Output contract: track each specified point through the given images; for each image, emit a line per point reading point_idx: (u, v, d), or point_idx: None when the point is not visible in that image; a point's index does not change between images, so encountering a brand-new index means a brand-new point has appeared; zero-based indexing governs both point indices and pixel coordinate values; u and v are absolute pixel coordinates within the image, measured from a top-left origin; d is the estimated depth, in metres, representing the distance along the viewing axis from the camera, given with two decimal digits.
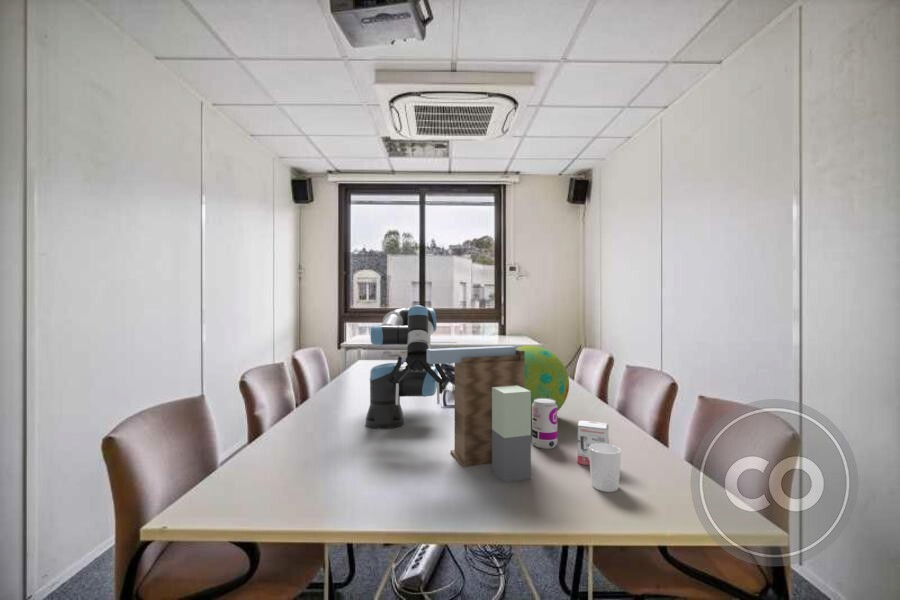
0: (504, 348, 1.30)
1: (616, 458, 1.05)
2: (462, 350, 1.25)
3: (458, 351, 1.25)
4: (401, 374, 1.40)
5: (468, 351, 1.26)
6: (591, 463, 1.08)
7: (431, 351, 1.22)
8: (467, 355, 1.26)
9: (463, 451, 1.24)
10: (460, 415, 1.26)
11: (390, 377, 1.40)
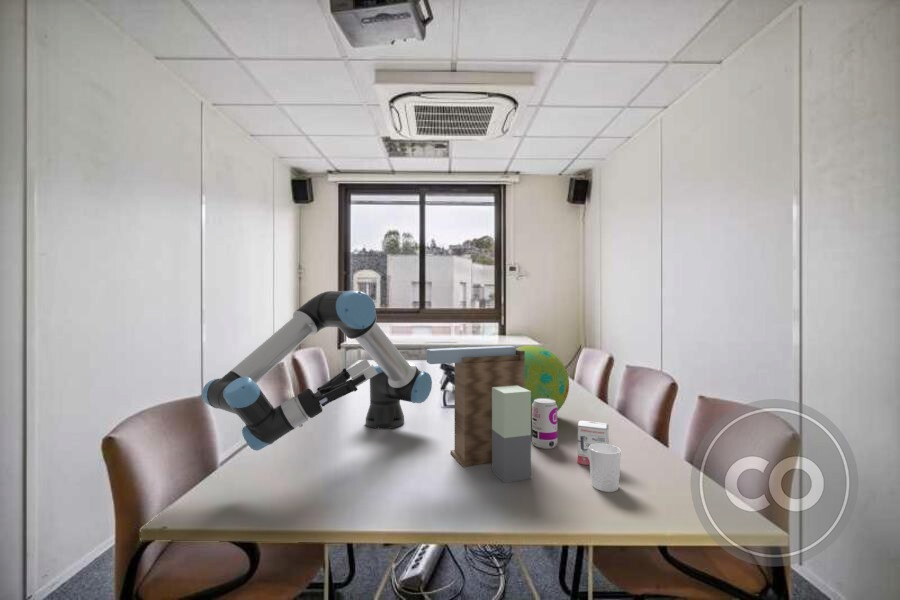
0: (504, 348, 1.30)
1: (616, 458, 1.05)
2: (462, 350, 1.25)
3: (458, 351, 1.25)
4: None
5: (468, 351, 1.26)
6: (591, 463, 1.08)
7: (431, 351, 1.22)
8: (467, 355, 1.26)
9: (463, 451, 1.24)
10: (460, 415, 1.26)
11: None
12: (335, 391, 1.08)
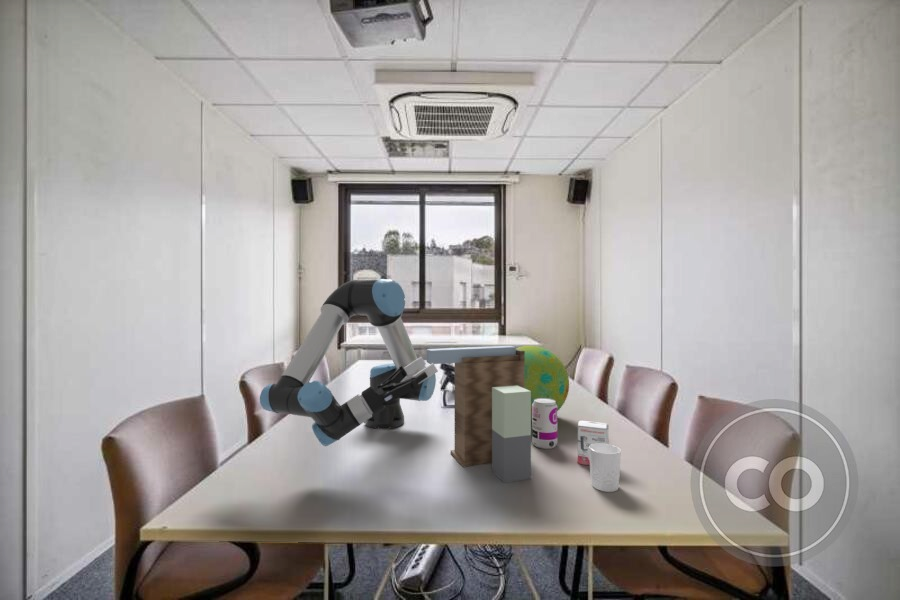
0: (504, 348, 1.30)
1: (616, 458, 1.06)
2: (462, 350, 1.25)
3: (458, 351, 1.25)
4: None
5: (468, 351, 1.26)
6: (591, 463, 1.08)
7: (431, 351, 1.22)
8: (467, 355, 1.26)
9: (463, 451, 1.24)
10: (460, 415, 1.26)
11: None
12: (400, 389, 1.12)
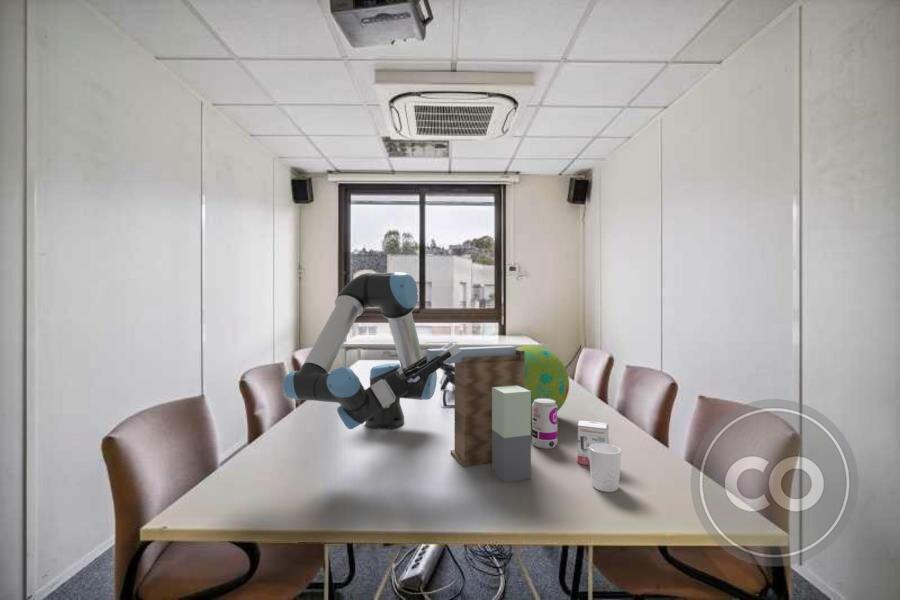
0: (504, 348, 1.30)
1: (616, 458, 1.05)
2: (462, 350, 1.25)
3: None
4: None
5: (468, 351, 1.26)
6: (591, 463, 1.08)
7: (431, 351, 1.22)
8: (467, 355, 1.26)
9: (463, 451, 1.24)
10: (460, 415, 1.26)
11: None
12: (427, 368, 1.18)
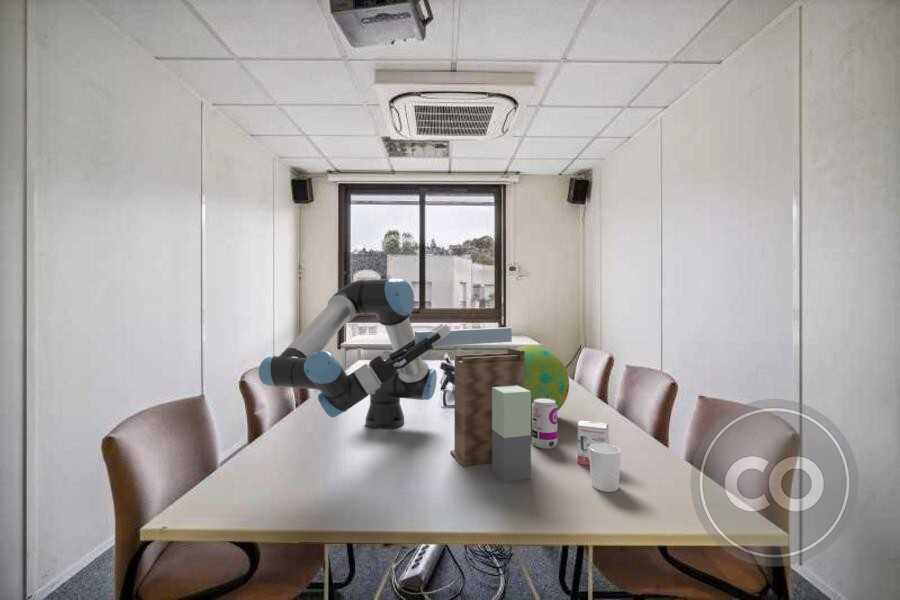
0: (499, 329, 1.20)
1: (616, 458, 1.05)
2: (453, 332, 1.16)
3: None
4: None
5: (459, 332, 1.17)
6: (591, 463, 1.08)
7: (419, 333, 1.14)
8: (459, 337, 1.17)
9: (463, 451, 1.24)
10: (460, 415, 1.26)
11: None
12: (414, 350, 1.09)
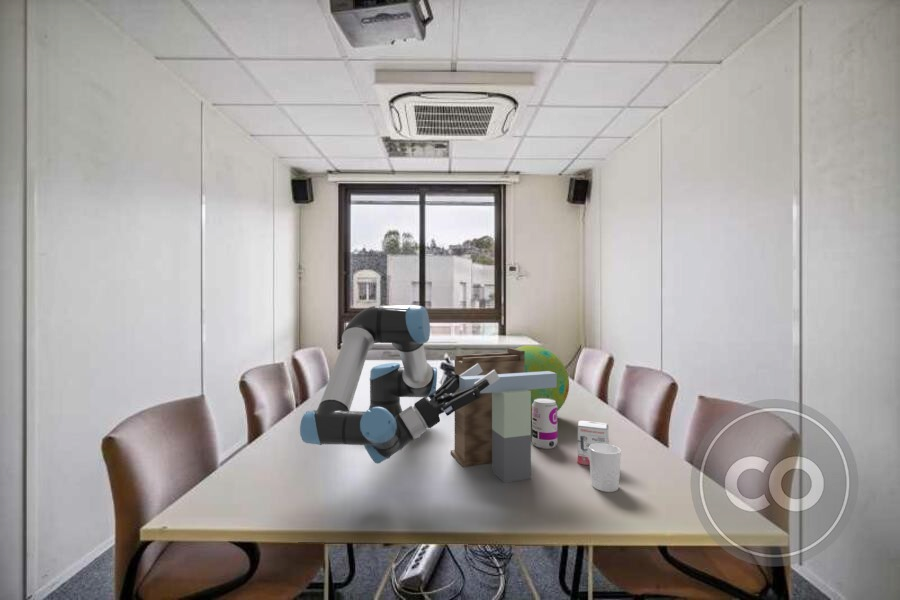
0: (544, 375, 1.17)
1: (616, 458, 1.05)
2: None
3: None
4: None
5: (505, 379, 1.13)
6: (591, 463, 1.08)
7: (465, 380, 1.10)
8: (505, 384, 1.13)
9: (463, 451, 1.24)
10: (460, 415, 1.26)
11: None
12: (461, 398, 1.03)
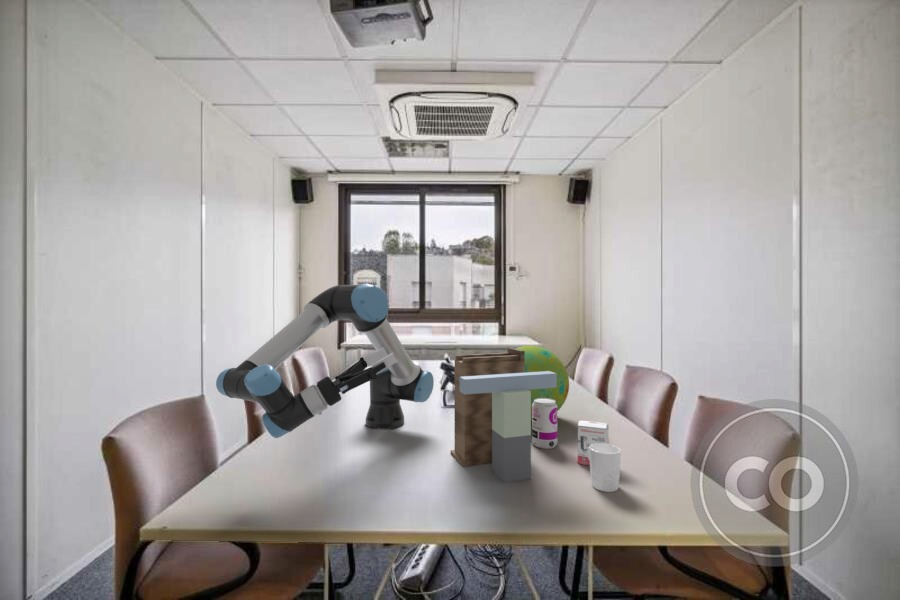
0: (544, 375, 1.17)
1: (616, 458, 1.05)
2: (499, 378, 1.13)
3: (495, 379, 1.12)
4: None
5: (505, 379, 1.13)
6: (591, 463, 1.08)
7: (465, 380, 1.10)
8: (505, 384, 1.13)
9: (463, 451, 1.24)
10: (460, 415, 1.26)
11: None
12: (356, 378, 1.07)
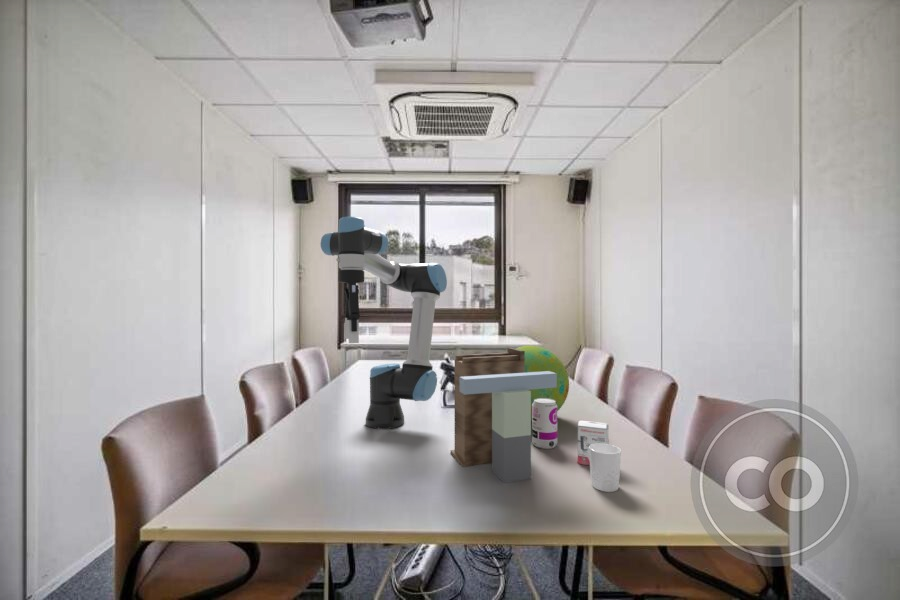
0: (544, 375, 1.17)
1: (616, 458, 1.05)
2: (499, 378, 1.13)
3: (495, 379, 1.12)
4: (346, 307, 1.29)
5: (505, 379, 1.13)
6: (591, 463, 1.08)
7: (466, 380, 1.10)
8: (505, 384, 1.13)
9: (463, 451, 1.24)
10: (460, 415, 1.26)
11: (345, 310, 1.32)
12: (357, 302, 1.16)
